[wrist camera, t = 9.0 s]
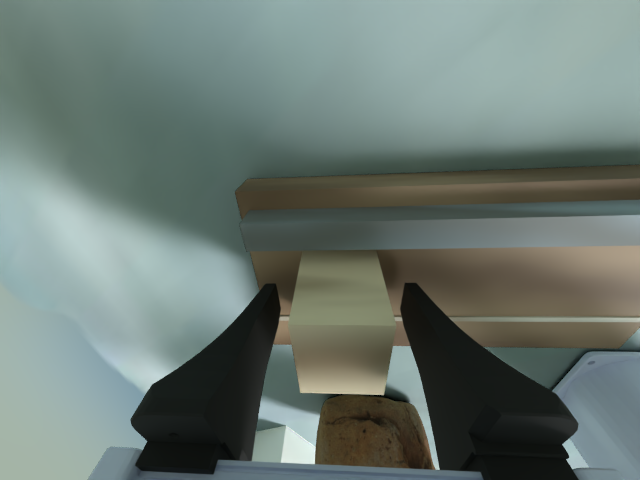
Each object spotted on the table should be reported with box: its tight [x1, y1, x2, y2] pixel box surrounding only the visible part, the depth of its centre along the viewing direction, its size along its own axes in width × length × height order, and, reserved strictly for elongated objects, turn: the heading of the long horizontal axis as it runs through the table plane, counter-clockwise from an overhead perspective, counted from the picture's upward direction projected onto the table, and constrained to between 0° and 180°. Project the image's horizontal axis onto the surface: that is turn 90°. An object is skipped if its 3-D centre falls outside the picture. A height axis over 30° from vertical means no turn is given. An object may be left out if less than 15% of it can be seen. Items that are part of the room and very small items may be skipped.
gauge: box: [288, 250, 396, 395], centre depth 13 cm, size 9×4×5 cm, turn 3°
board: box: [235, 165, 640, 349], centre depth 14 cm, size 12×24×4 cm, turn 93°
